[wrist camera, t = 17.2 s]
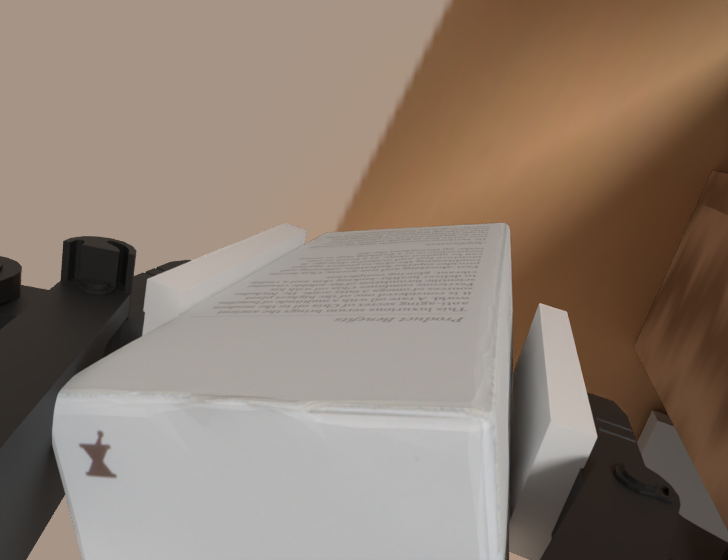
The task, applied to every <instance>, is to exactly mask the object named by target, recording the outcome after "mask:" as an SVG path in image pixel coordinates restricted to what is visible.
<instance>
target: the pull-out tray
mask: <svg viewBox="0 0 728 560" xmlns="http://www.w3.org/2000/svg"><path fill="white" fill-rule="evenodd" d="M637 444H638V447H639V450H640V453H641V455H642V458H643V461H644V464H645V466H646V467H647V468H649V469H650V470H652V471H654V472H655V473H657V474H659V475H660V476H661V477H662V478H663V479H664V480H666V481H667V482H668V483H669V484H670V485H671V486H672V487H673V488H674V490H675V491H676V493H677V494H678V495H679V498H680V504H681V506H680V510H679V514H680V515H681V516H683V517H684V518H685V519H687V520H689V521H690V522H692V523H694V524H695V525H697V526H699V527H701V528H702V529H704V530H706V531H708V532H710V533H712V534H713V535H715V536H717V537H719V538H721V539H723V540H724V541H726V542H728V530H727V528H726V526H725V525H724V523H723V521H722V519H721V517H720V515H719V513H718V511H717V509H716V507H715V505H714V503H713V501H712V499H711V497H710V495H709V493H708V491H707V489H706V487H705V486H704V484H703V482H702V480H701V478H700V476H699V474H698V472H697V470H696V468H695V466H694V464H693V462H692V460H691V458H690V456H689V454H688V452H687V450H686V448H685V446H684V445H683V443H682V441H681V439H680V437H679V435H678V433H677V431H676V429H675V427H674V425H673V423H672V421H671V419H670V417H669V415H666V414H663V413H661V412H658V411H655V410H652V412H651V414H650V416H649V418H648V420H647V422H646V424H645V427H644V429H643V431H642V433H641V435H640V437H639V439H638V441H637Z"/></svg>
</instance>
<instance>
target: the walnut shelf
mask: <svg viewBox="0 0 728 560" xmlns="http://www.w3.org/2000/svg"><path fill="white" fill-rule="evenodd" d="M634 349H635V351H636V353H637V355H638V357H639V359H640V361H641V363H642V365H643V366H644V368H645V370H646V372H647V374H648V376H649V378H650V380H651V382H652V384H653V386H654V388H655V390H656V392H657V394H658V396H659V398H660V400H661V402H662V404H663V406H664V407H665V409H666V411H667V413H668V415H669V417H670V419H671V421H672V423H673V425H674V427H675V429H676V431H677V433H678V435H679V437H680V439H681V441H682V443H683V445H684V446H685V448H686V450H687V452H688V454H689V456H690V458H691V460H692V462H693V464H694V466H695V468H696V470H697V472H698V474H699V476H700V478H701V480H702V482H703V484H704V486H705V487H706V489H707V491H708V493H709V495H710V497H711V499H712V501H713V503H714V505H715V507H716V509H717V511H718V513H719V515H720V517H721V519H722V521H723V523H724V525H725V526H726V528H727V530H728V174H727V173H723V172H718V171H714V170H712V172H711V175H710V177H709V179H708V181H707V184H706V186H705V188H704V190H703V193H702V195H701V197H700V199H699V202H698V204H697V206H696V208H695V211H694V213H693V215H692V217H691V220H690V222H689V224H688V226H687V229H686V231H685V233H684V236H683V238H682V240H681V242H680V245H679V247H678V249H677V251H676V254H675V256H674V258H673V260H672V263H671V265H670V267H669V269H668V272H667V274H666V276H665V278H664V281H663V283H662V285H661V287H660V290H659V292H658V294H657V296H656V299H655V301H654V303H653V305H652V308H651V310H650V312H649V314H648V317H647V319H646V321H645V323H644V326H643V328H642V330H641V332H640V335H639V337H638V339H637V341H636V344H635V346H634Z"/></svg>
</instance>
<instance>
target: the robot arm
mask: <svg viewBox="0 0 728 560" xmlns="http://www.w3.org/2000/svg"><path fill="white" fill-rule="evenodd" d="M306 234H307V230H305V229H302V228H299V227H296V226H293V225H289V224H286V223H282V224H280V225H277V226H275V227H273V228H270V229H268V230H265V231H263V232H260V233H258V234H256V235H253V236H251V237H248V238H246V239H243V240H241V241H238V242H236V243H234V244H231V245H229V246H227V247H224V248H221V249H219V250H217V251H214V252H212V253H209V254H207V255H205V256H202V257H200V258H198V259H195V260H192V261H191V260H184V261H174V262H169V263H167V264H164V265H161V266H159V267H157V268H156V269H155V268H154V269H151V270H149V271H146V273H141V274H138V275H136V276H134V266H135V258H136V250H135V249H134V247H133V246H131V245H129V244H127V243H125V242H122V241H119V240H115V239H111V238H103V237H91V236H83V237H74V238H70V239H67V240H65V241H63V255H62V270H61V281H60V282H59V283H57V284H56V285H55V286H54V287H52V288H51V289H50V290H45V289H39V288H35V287H29V286H24V285H21V271H22V267H21V265H20V264H19V263H18V262H16V261H14V260H12V259H9V258H6V257H1V256H0V560H26V559H27V557H28V556H29V554H30V552H31V551H32V549H33V547H34V546H35V544H36V542H37V541H38V539H39V537H40V536H41V534H42V532H43V531H44V529H45V527H46V526H47V524H48V522H49V521H50V519H51V517H52V515H53V514H54V512H55V510H56V509H57V507H58V505H59V504H60V502H61V500H62V499H63V497H64V495H65V491H64V487H63V484H62V480H61V476H60V472H59V469H58V465H57V461H56V458H55V454H54V450H53V446H52V427H53V416H54V409H55V403H56V399H57V395H58V393H59V392H60V390H61V389H62V388H63V387H64V386H65V385H66V383H67V382H68V381H69V380H70V379H71V378H72V377H73V376H74V375H76V374H77V373H79V372H80V371H82V370H84V369H85V368H87V367H89V366H90V365H92V364H94V363H96V362H97V361H99V360H101V359H102V358H104V357H106V356H108V355H109V354H111V353H113V352H114V351H116V350H118V349H120V348H122V347H123V346H125V345H127V344H129V343H131V342H132V341H134V340H136V339H138V338H140V337H141V336H143V335H145V334H147V333H149V332H151V331H152V330H154V329H156V328H158V327H160V326H161V325H163V324H165V323H167V322H169V321H171V320H172V319H174V318H176V317H178V316H179V315H181V314H183V313H185V312H186V311H188V310H190V309H192V308H193V307H195V306H197V305H199V304H200V303H202V302H204V301H206V300H208V299H209V298H211V297H212V296H214V295H216V294H218V293H220V292H222V291H224V290H225V289H227V288H229V287H231V286H233V285H234V284H236V283H238V282H239V281H241V280H243V279H245V278H247V277H249V276H250V275H252V274H254V273H256V272H257V271H259V270H261V269H262V268H264V267H266V266H268V265H269V264H271V263H273V262H274V261H276V260H278V259H280V258H282V257H283V256H285V255H287V254H289V253H290V252H292V251H294V250H296V249H297V248H299V247H301V246H303V245H304V243H305V238H306ZM635 441H636V439H635V436H634V433H633V432H632V428H631V425H630V422H629V420H628V417H627V415H626V414H625V413H624V412H623V411H622V410H621V409H620V408H619V407H618V406H617V405H616V404H615V403H614V401H611V400H608V399H605V398H602V397H599V396H596V395H593V394H590V393H587V392H586V388H585V383H584V379H583V375H582V371H581V367H580V363H579V359H578V355H577V351H576V346H575V342H574V338H573V334H572V330H571V326H570V322H569V318H568V314H567V311H563V310H560V309H557V308H554V307H551V306H547V305H544V304H541V303H539V305H538V308H537V311H536V313H535V316H534V319H533V321H532V324H531V327H530V329H529V332H528V335H527V337H526V340H525V343H524V345H523V348H522V351H521V354H520V356H519V359H518V362H517V364H516V367H515V370H514V372H513V375H512V412H511V469H510V524H509V552H512V553H514V554H517V555H520V556H522V557H524V558H527V559H529V560H728V542H726V541H724V540H723V539H721V538H719V537H717V536H715V535H713V534H712V533H710V532H708V531H706V530H704V529H702V528H701V527H699V526H697V525H695V524H694V523H692V522H690V521H689V520H687V519H685V518H684V517H683V516H681V515H680V514H679V510H680V506H681V504H680V498H679V495H678V494H677V493H676V491H675V490H674V488H673V487H672V486H671V485H670V484H669V483H668V482H667V481H666V480H664V479H663V478H662V477H661V476H660V475H659V474H657V473H655V472H654V471H652V470H650V469H649V468H647V467H646V466H645V464H644V461H643V458H642V455H641V453H640V450H639V447H638V444H637V443H636V442H635Z"/></svg>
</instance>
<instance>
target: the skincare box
mask: <svg viewBox="0 0 728 560" xmlns="http://www.w3.org/2000/svg"><path fill="white" fill-rule="evenodd" d="M512 371H513V307H512V273H511V243H510V228H509V226H508V224H506V223H489V224H470V225H451V226H435V227H414V228H397V229H379V230H363V231H346V232H327V233H324V234H322V235H321V236H319V237H317V238H315V239H313V240H312V241H310V242H308V243H307V244H305V245H303V246H301V247H299V248H297V249H296V250H294V251H292V252H290V253H289V254H287V255H285V256H283V257H282V258H280V259H278V260H276V261H274V262H273V263H271V264H269V265H268V266H266V267H264V268H262V269H261V270H259V271H257V272H256V273H254V274H252V275H250V276H249V277H247V278H245V279H243V280H241V281H239V282H238V283H236V284H234V285H233V286H231V287H229V288H227V289H225V290H224V291H222V292H220V293H218V294H216V295H214V296H212V297H211V298H209V299H208V300H206V301H204V302H202V303H200V304H199V305H197V306H195V307H193V308H192V309H190V310H188V311H186V312H185V313H183V314H181V315H179V316H178V317H176V318H174V319H172V320H171V321H169V322H167V323H165V324H163V325H161V326H160V327H158V328H156V329H154V330H152V331H151V332H149V333H147V334H145V335H143V336H141V337H140V338H138V339H136V340H134V341H132V342H131V343H129V344H127V345H125V346H123V347H122V348H120V349H118V350H116V351H114V352H113V353H111V354H109V355H108V356H106V357H104V358H102V359H101V360H99V361H97V362H96V363H94V364H92V365H90V366H89V367H87V368H85V369H84V370H82V371H80V372H79V373H77V374H76V375H74V376H73V377H72V378H71V379H70V380H69V381H68V382H67V383H66V385H65V386H64V387H63V388H62V389H61V390H60V392H59V393H58V395H57V399H56V403H55V409H54V416H53V427H52V446H53V450H54V454H55V458H56V461H57V465H58V469H59V472H60V476H61V480H62V484H63V487H64V491H65V495H66V499H67V503H68V507H69V511H70V515H71V519H72V523H73V527H74V531H75V535H76V539H77V543H78V547H79V550H80V554H81V558H82V560H509V524H510V469H511V412H512Z"/></svg>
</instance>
